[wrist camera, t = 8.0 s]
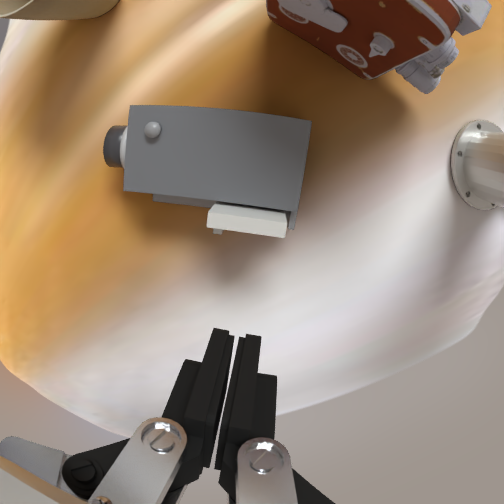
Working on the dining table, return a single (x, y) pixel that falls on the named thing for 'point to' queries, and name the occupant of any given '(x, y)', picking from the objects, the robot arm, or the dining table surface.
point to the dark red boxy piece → (384, 33)
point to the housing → (211, 156)
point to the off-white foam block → (247, 219)
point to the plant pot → (54, 9)
